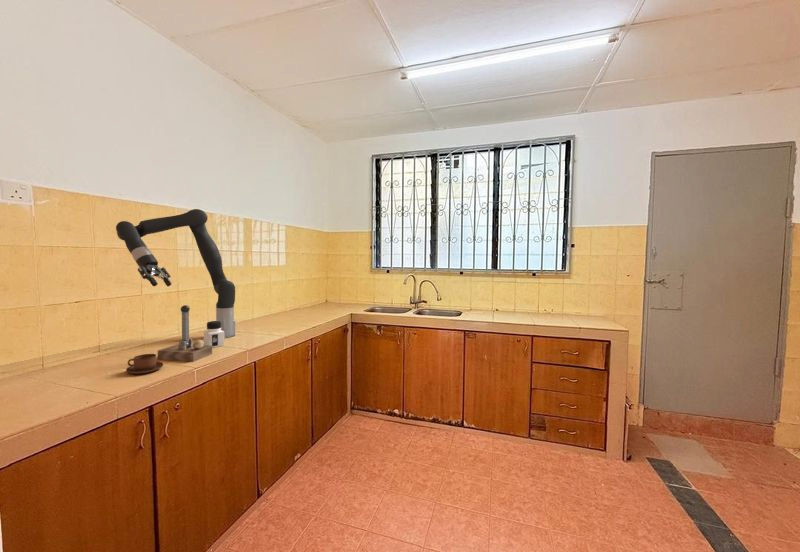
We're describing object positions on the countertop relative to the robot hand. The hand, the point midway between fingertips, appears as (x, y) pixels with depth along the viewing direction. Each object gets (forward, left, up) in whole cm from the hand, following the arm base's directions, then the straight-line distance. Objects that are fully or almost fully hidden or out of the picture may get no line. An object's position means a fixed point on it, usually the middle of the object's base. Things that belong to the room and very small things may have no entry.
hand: (162, 285), depth 157 cm
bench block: (-5, +13, -33) cm, 36 cm away
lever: (-5, +13, -29) cm, 32 cm away
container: (-22, +3, -33) cm, 40 cm away
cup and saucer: (+13, +22, -33) cm, 42 cm away
